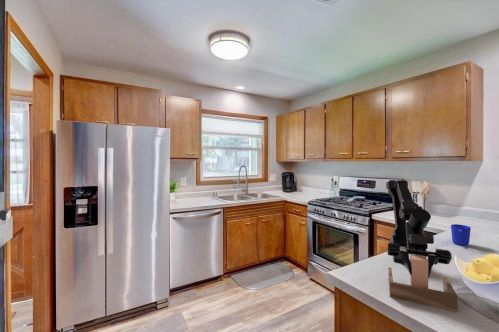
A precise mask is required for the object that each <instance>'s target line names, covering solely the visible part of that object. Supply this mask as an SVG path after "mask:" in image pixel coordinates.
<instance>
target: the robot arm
mask: <svg viewBox="0 0 499 332" xmlns="http://www.w3.org/2000/svg"><path fill="white" fill-rule="evenodd" d="M385 187H386V189H387V193H388V195H390V197H391V198H392V199H391V200H392V206H393V215H394V225H395V227H394V229H393V230H392V234H391V237H390V239H389V242H387V255H388V256H391V257H392V259H393V262H394V263H400V264H403V265H405V267H406V269H407V272H408V273H409V276H411V275H412V269H411V259H410V255H418V256H425V257H426V258H427V260H428V279H430V275H431V273H432V272H431V271H432V268H433V267H434V265H438V264H443V265H449V264H450V263H451V261H452V259H453V256H452V252H451V251H450V250H448V249H443V248H442V249H441V248H435V251H429V250H428V249H429V247H428V244H429V245H433V244H434V243H435V238H434V234H432V233H426V234H425V231H424V229H426V228H427V226H428V224H429V222H430V220H431V217H432V215H431V214H430V212H429V211H428V210H426V209H425V208H423V207H422V205H421V206H420V205H419V204H418V203H416V202H415V201H414V199H413V197H412V194H411V192H410V188H409V183H408V181H407V180H405V179H389V180H388V181H386V183H385Z"/></svg>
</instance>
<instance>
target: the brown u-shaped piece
mask: <svg viewBox="0 0 499 332" xmlns="http://www.w3.org/2000/svg"><path fill="white" fill-rule="evenodd" d="M387 269H388V291H389V297H392V298H395V299H399V300H402V301H403V300H404V301H408V302H413V303H418V304H420V305H421V304H422V305H425V306H431V307H434V308H438V309H444V310H448V311H452V312H456V313H457V312H458V310H459V309H458V307H459V303H458V294H457V293H456V291H455V289H454V288H453V285H452V284H451V282H450V280H449V279H448V277H446V276H443V278H442V282H443V284H442V285H443V287H442V288H443V291H442V290H437V289H432V288H429V287H428V288H423V287H417V286H412V285H411V284H407V283H403V282H397V281H394V278H393V270H392V267H389V266H388V268H387Z"/></svg>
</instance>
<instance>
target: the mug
mask: <svg viewBox="0 0 499 332" xmlns="http://www.w3.org/2000/svg"><path fill="white" fill-rule="evenodd" d="M471 229H472V228H471V226H469V225H465V224H464V225H463V224H458V223H457V224H456V223H455V224H454V223H453V224H450V231H451V240H452V243H453V244H455V245H458V246H464V247H465V246H466V247H467V246H469V244H470V239H471V238H470V237H471Z"/></svg>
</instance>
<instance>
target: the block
mask: <svg viewBox="0 0 499 332" xmlns="http://www.w3.org/2000/svg"><path fill="white" fill-rule="evenodd" d="M410 263H411V269H412V275H410V285H412V286H417V287H423V288H428V289H429V278H428V257H425V256H419V255H412V254H410Z"/></svg>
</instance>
